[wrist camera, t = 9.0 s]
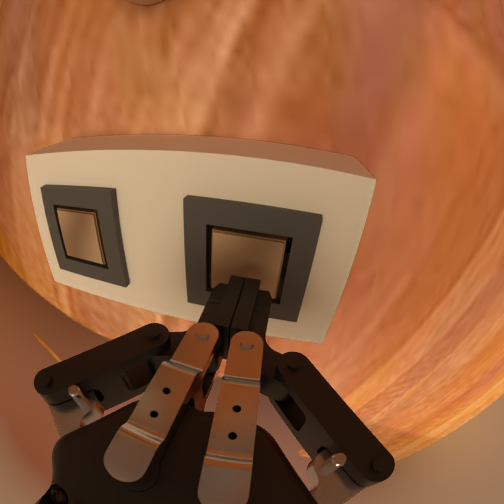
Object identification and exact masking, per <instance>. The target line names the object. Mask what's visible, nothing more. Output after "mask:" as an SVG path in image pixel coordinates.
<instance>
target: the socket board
mask: <svg viewBox="0 0 504 504" xmlns="http://www.w3.org/2000/svg"><path fill="white" fill-rule="evenodd" d="M26 163H27V171H28V178H29V184H30V190H31V195H32V201H33V206H34V210H35V215H36V219H37V223H38V227H39V231H40V235H41V239H42V242H43V246H44V249H45V253H46V256H47V259H48V262H49V265H50V268H51V271H52V274H53V277H54V280H55V281H56V282H59V283H62V284H64V285H67V286H70V287H73V288H76V289H79V290H82V291H85V292H88V293H91V294H94V295H98V296H101V297H104V298H107V299H110V300H114V301H117V302H121V303H124V304H128V305H131V306H135V307H138V308H142V309H146V310H149V311H153V312H157V313H161V314H165V315H169V316H173V317H177V318H181V319H186V320H190V321H194V322H198V320H199V318H200V316H201V314H202V312H203V309H204V307H205V305H206V303H207V301H208V298H209V297H210V294H211V292H212V290H213V288H212V287H211V254H212V228H213V227H214V225H215V226H222V227H228V228H235V229H241V230H248V231H254V232H261V233H267V234H273V235H279V236H286V237H292V241H291V246H290V251H289V253H284V258H283V263H282V269H281V274H280V279H279V285H278V290H277V295H276V299H272V302H271V308H270V314H269V320H268V325H267V331H266V336H272V337H278V338H284V339H291V340H298V341H305V342H313V343H321V344H323V342H324V339H325V337H326V334H327V332H328V330H329V327H330V325H331V322H332V320H333V317H334V314H335V312H336V309H337V307H338V304H339V301H340V299H341V296H342V293H343V290H344V288H345V285H346V282H347V279H348V276H349V273H350V270H351V267H352V264H353V261H354V258H355V255H356V252H357V249H358V246H359V243H360V239H361V236H362V233H363V229H364V226H365V222H366V219H367V215H368V212H369V208H370V204H371V200H372V196H373V193H374V189H375V184H376V179H375V178H374V176H373V175H372V174H371V173H370V172H369V171H368V170H367V169H366V168H365V167H364V166H363V165H362V164H361V163H360V162H359V161H358V160H357V159H356V158H355V157H353V156H348V155H344V154H339V153H334V152H329V151H324V150H318V149H313V148H307V147H301V146H295V145H288V144H281V143H274V142H266V141H258V140H249V139H239V138H228V137H215V136H198V135H170V134H136V135H108V136H93V137H80V138H72V139H69V140H66V141H63V142H60V143H57V144H54V145H51V146H49V147H46V148H43V149H41V150H38V151H35V152H33V153H30V154H28V155H26ZM61 205H62V206H71V207H80V208H88V209H96V210H97V211H98V218H99V224H100V230H101V235H102V241H103V246H104V251H105V255H106V260H107V263H106V264H100V263H96V262H92V261H88V260H84V259H80V258H76V257H72V256H69V255H67V251H66V248H65V244H64V240H63V236H62V231H61V227H60V223H59V218H58V213H57V208H58V207H60V206H61Z"/></svg>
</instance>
